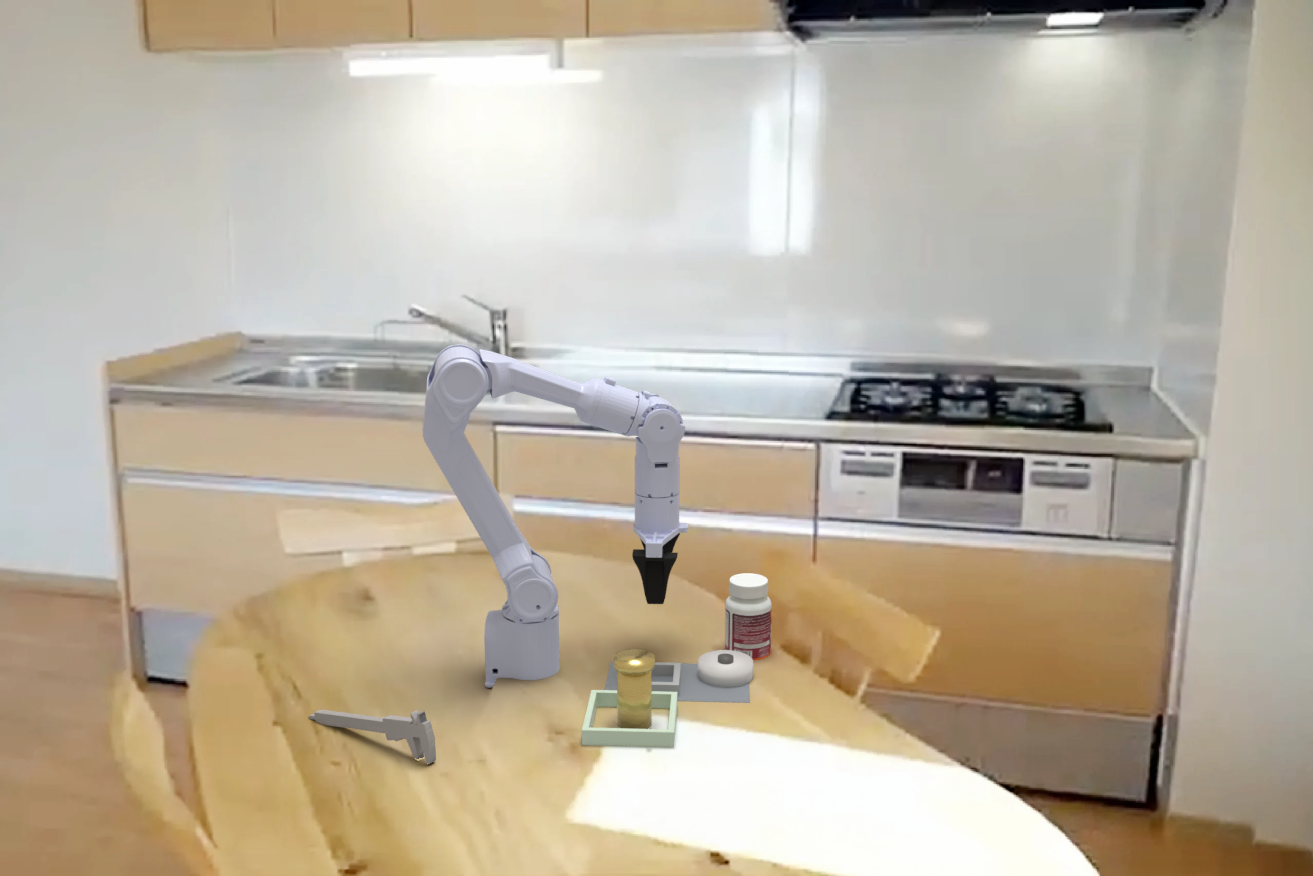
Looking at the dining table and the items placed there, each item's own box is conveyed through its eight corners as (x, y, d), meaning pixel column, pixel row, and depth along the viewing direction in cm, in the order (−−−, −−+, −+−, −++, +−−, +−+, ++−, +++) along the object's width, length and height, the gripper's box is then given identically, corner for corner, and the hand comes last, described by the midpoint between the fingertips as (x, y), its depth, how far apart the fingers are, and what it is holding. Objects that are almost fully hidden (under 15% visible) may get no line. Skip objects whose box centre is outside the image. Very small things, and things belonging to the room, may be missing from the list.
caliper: (436, 765, 138) (434, 713, 136) (429, 769, 137) (427, 717, 135) (314, 717, 149) (311, 669, 147) (307, 720, 148) (304, 672, 147)
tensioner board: (602, 708, 151) (602, 679, 150) (610, 670, 161) (610, 643, 160) (754, 711, 150) (754, 682, 149) (752, 673, 160) (752, 646, 159)
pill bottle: (780, 661, 164) (782, 581, 161) (743, 672, 161) (744, 591, 158) (751, 646, 169) (753, 568, 166) (715, 656, 166) (716, 577, 163)
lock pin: (612, 738, 142) (611, 666, 140) (615, 719, 147) (615, 649, 145) (654, 739, 142) (654, 667, 140) (655, 719, 146) (655, 649, 144)
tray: (582, 754, 139) (581, 730, 139) (591, 712, 149) (591, 689, 149) (673, 756, 139) (673, 732, 138) (677, 714, 149) (677, 691, 148)
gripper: (686, 509, 149) (686, 613, 153) (690, 477, 164) (689, 573, 167) (628, 508, 150) (629, 612, 153) (637, 476, 164) (637, 572, 167)
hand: (657, 592), depth 160 cm, fingers open, 7 cm apart
